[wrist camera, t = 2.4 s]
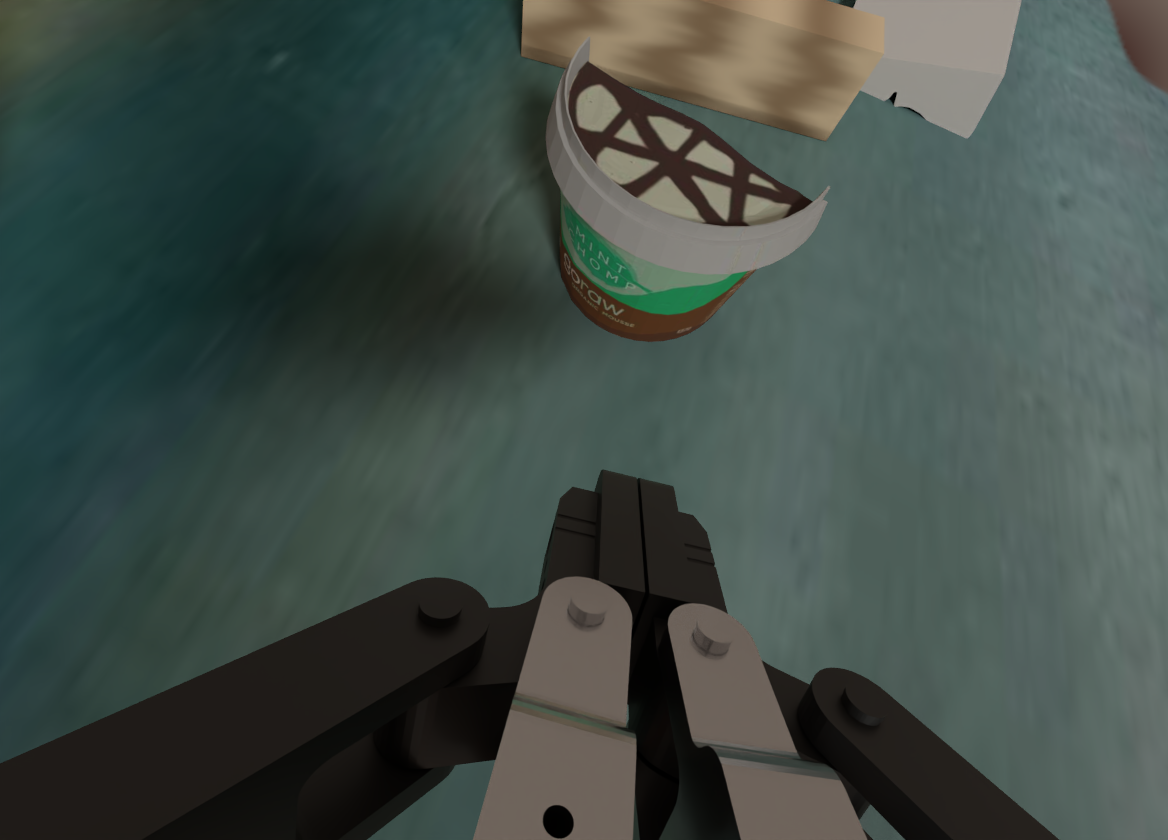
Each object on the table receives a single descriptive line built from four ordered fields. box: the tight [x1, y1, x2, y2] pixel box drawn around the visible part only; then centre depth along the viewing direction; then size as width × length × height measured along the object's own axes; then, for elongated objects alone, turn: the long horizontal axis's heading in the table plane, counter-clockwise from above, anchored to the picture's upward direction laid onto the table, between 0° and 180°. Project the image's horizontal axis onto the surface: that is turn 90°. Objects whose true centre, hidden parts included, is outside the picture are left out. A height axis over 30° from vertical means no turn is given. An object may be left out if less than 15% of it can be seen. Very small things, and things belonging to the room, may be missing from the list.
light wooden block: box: [521, 0, 885, 141], centre depth 34 cm, size 20×5×6 cm, turn 79°
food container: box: [546, 37, 830, 342], centre depth 26 cm, size 12×6×10 cm, turn 56°
